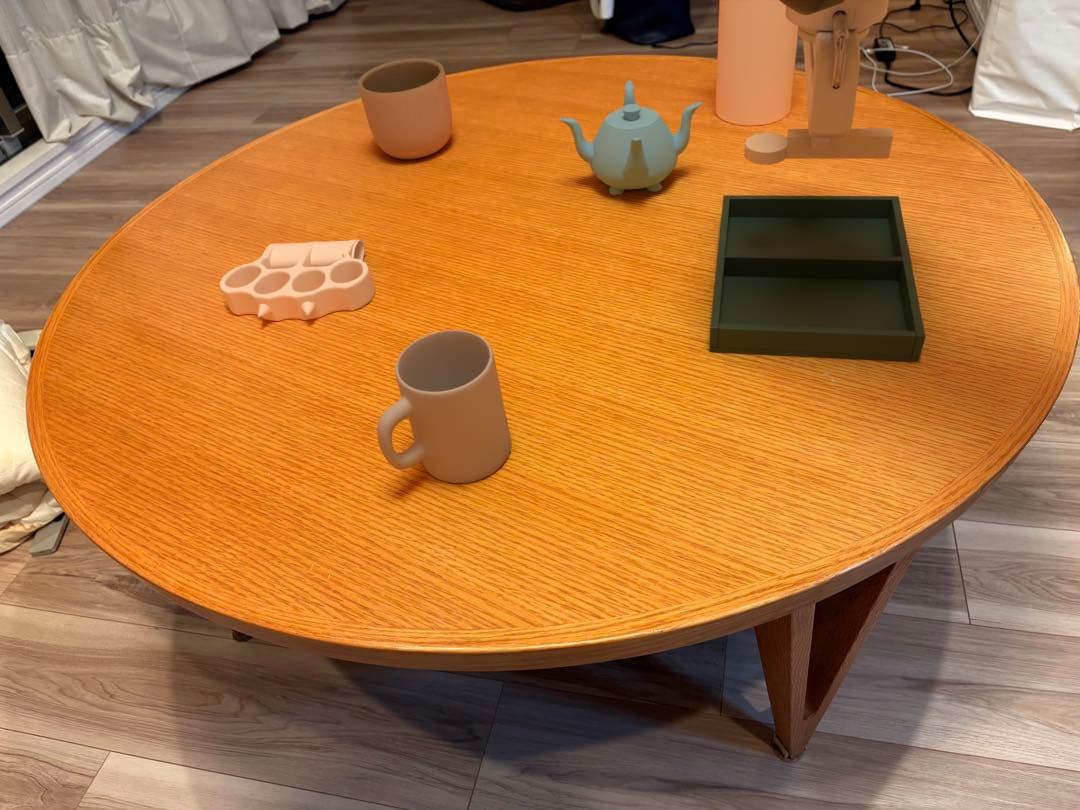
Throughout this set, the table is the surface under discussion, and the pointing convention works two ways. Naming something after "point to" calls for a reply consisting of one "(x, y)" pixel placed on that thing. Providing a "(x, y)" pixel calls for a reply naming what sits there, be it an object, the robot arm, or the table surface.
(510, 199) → the table surface
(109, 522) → the table surface
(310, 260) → the knuckle duster
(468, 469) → the mug
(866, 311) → the tray
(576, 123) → the teapot
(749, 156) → the spoon
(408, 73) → the planter
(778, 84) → the tall pillar cylinder
